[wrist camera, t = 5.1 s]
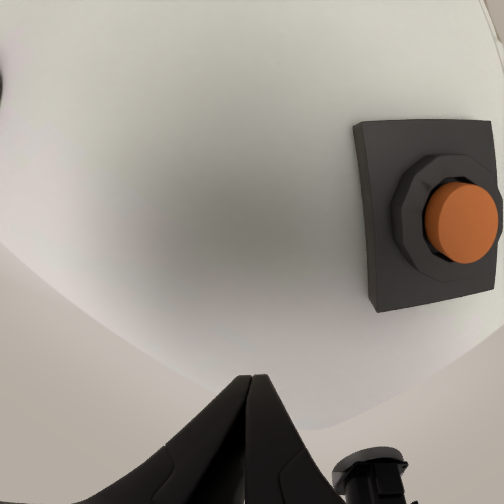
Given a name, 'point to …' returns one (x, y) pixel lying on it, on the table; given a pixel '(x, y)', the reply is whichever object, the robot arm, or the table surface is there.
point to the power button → (461, 221)
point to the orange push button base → (420, 206)
